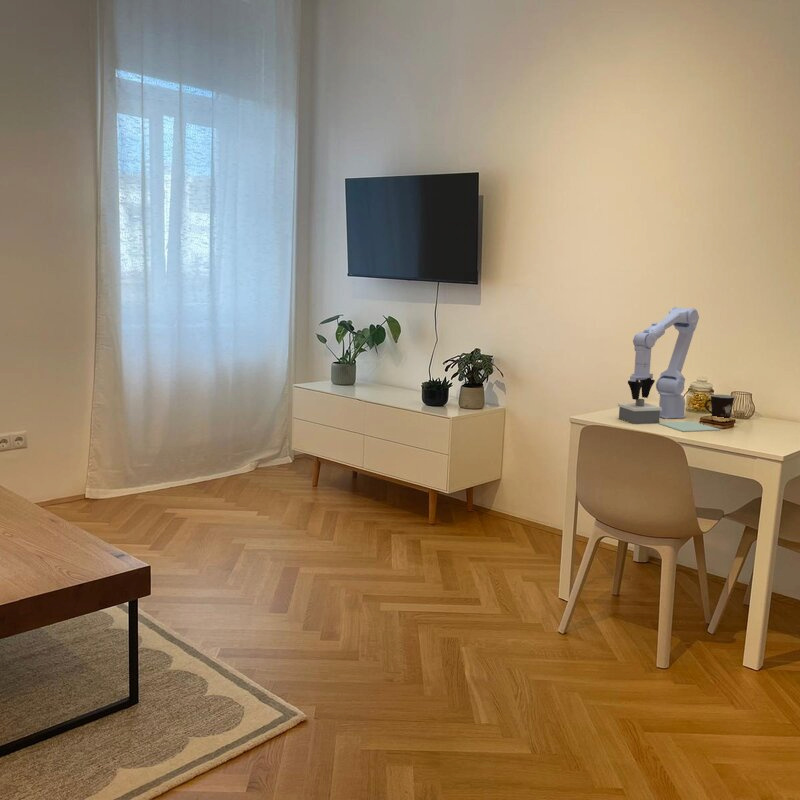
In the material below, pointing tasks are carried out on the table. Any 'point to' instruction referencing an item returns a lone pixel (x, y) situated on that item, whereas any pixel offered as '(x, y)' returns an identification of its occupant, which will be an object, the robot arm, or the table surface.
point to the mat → (689, 426)
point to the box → (639, 416)
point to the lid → (639, 406)
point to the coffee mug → (721, 405)
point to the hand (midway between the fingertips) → (640, 398)
